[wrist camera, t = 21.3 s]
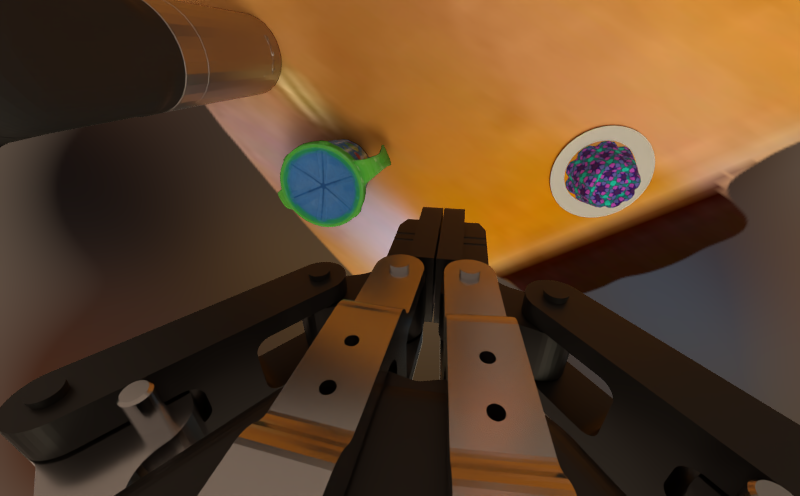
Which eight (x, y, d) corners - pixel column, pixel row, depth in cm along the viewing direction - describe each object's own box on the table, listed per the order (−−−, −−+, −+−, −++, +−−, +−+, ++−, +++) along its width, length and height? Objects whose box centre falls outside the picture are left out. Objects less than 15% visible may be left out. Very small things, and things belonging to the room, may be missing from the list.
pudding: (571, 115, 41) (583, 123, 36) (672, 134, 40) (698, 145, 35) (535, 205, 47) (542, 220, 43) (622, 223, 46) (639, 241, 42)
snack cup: (386, 112, 44) (366, 127, 36) (407, 187, 49) (394, 216, 40) (286, 141, 49) (246, 160, 40) (314, 207, 53) (284, 237, 45)
